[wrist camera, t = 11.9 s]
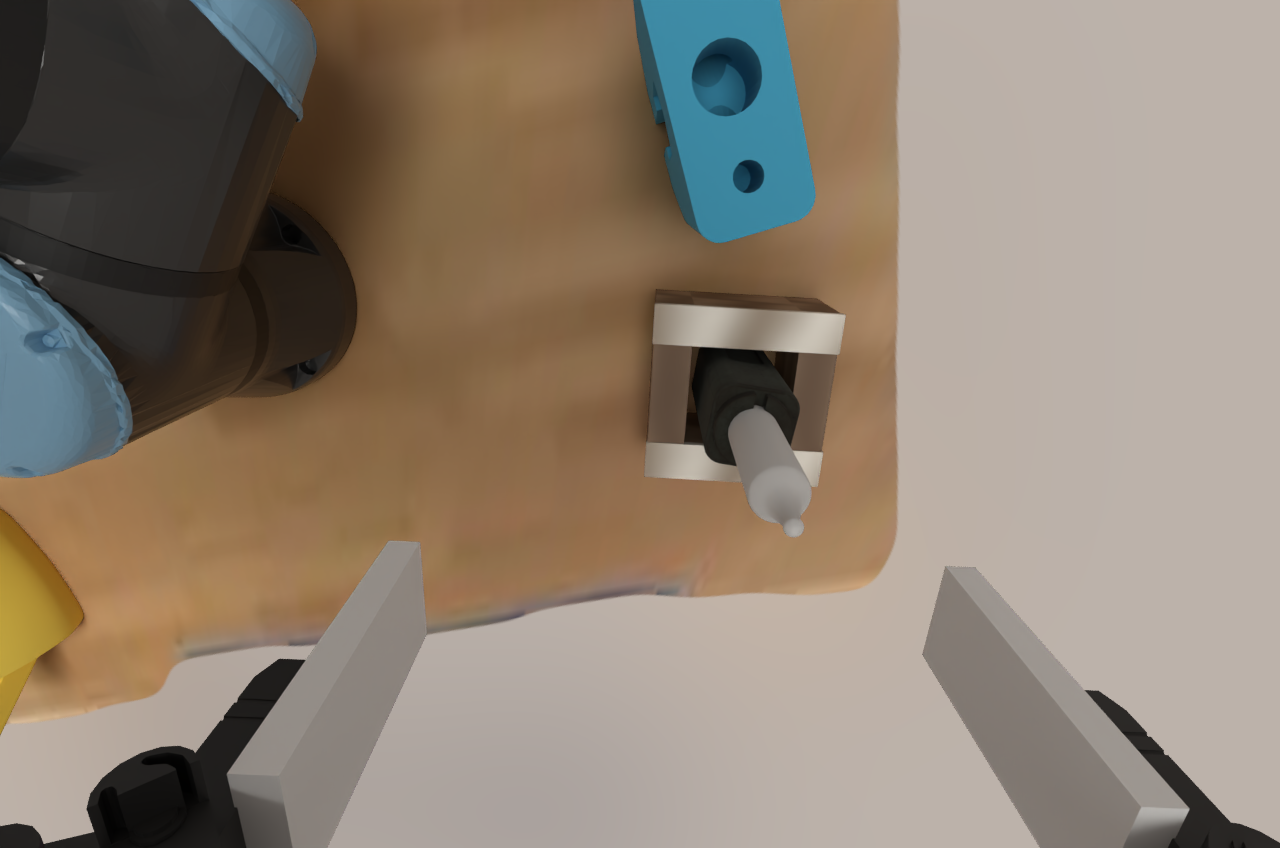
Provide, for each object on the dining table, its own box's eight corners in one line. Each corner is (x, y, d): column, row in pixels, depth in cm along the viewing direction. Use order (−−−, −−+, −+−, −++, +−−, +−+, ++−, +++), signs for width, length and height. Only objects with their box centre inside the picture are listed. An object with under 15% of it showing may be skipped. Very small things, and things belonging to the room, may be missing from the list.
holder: (645, 440, 51) (644, 476, 45) (654, 288, 47) (654, 303, 41) (796, 449, 51) (817, 486, 45) (818, 298, 47) (845, 314, 41)
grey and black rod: (767, 345, 49) (874, 485, 25) (752, 408, 50) (839, 594, 27) (702, 334, 48) (748, 465, 25) (689, 397, 50) (720, 575, 27)
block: (750, 206, 45) (819, 214, 26) (682, 227, 46) (702, 248, 27) (709, 19, 42) (755, -127, 23) (635, 44, 42) (621, -79, 23)
